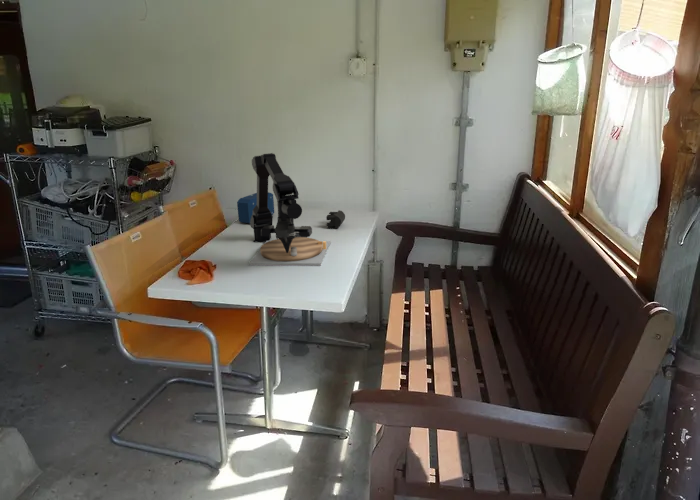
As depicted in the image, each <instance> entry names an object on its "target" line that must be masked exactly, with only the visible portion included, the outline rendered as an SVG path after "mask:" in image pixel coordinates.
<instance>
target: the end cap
mask: <svg viewBox="0 0 700 500" xmlns="http://www.w3.org/2000/svg"><path fill="white" fill-rule="evenodd" d="M325 218H326V221H329V222H326V227H327V228H326V229H327V230H337V229H339V228H340V227H341V226H342V224H343V223H344V221H345V219H346V214H345V212H344V211H342V210H339V209H338V210H337V211H330V212H328V214H327V215H326V217H325Z"/></svg>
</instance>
